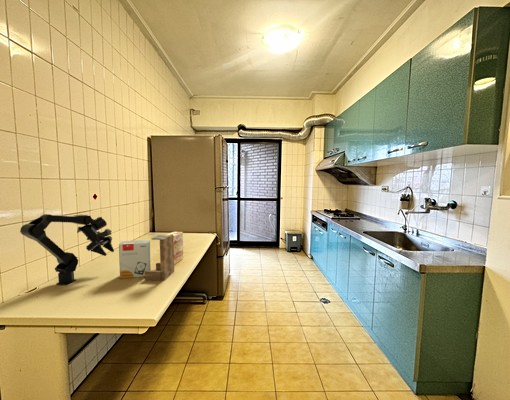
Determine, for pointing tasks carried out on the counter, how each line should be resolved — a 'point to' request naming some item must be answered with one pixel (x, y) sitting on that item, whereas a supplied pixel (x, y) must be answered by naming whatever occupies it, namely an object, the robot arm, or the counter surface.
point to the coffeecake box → (177, 246)
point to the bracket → (163, 259)
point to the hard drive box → (134, 258)
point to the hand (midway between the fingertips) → (109, 253)
